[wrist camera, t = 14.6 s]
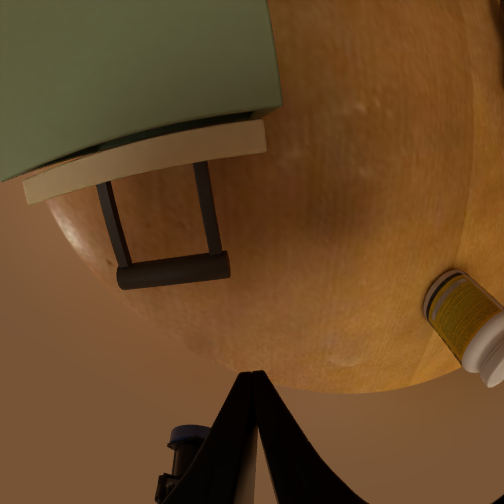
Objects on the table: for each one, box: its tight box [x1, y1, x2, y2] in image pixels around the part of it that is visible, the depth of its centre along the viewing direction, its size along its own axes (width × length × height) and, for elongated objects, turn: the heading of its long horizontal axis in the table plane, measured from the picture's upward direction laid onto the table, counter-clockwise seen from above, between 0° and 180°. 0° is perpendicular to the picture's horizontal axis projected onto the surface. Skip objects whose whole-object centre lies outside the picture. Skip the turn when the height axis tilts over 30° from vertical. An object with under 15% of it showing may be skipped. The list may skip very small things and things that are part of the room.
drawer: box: [22, 119, 267, 290], centre depth 11 cm, size 23×11×8 cm, turn 7°
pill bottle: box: [423, 270, 504, 387], centre depth 18 cm, size 6×6×11 cm
